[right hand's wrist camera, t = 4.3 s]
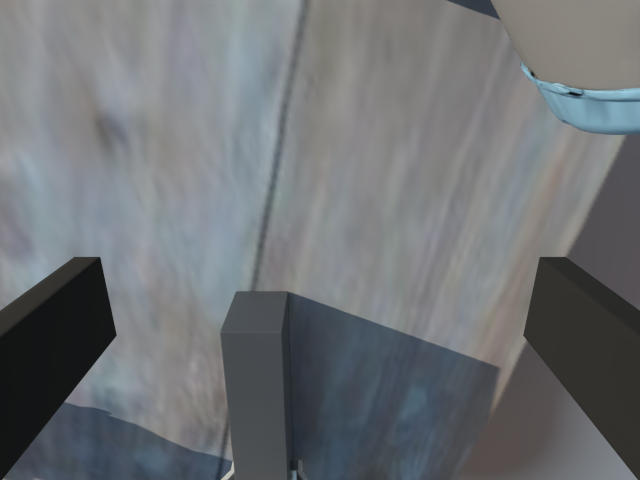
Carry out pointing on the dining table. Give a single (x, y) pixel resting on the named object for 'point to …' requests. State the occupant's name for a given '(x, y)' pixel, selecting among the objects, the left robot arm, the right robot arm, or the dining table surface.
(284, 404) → the bar
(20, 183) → the dining table surface
